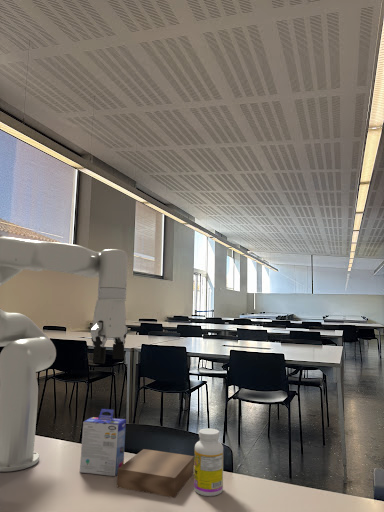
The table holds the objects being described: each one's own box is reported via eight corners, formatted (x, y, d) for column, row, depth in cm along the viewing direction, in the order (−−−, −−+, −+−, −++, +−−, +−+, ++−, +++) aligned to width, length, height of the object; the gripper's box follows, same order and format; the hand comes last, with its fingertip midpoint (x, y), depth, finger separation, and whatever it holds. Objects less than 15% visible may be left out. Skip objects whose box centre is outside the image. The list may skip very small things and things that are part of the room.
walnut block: (116, 487, 88) (117, 468, 89) (143, 465, 101) (143, 448, 102) (174, 497, 84) (174, 477, 85) (193, 473, 97) (194, 456, 98)
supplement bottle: (196, 482, 92) (197, 425, 94) (224, 485, 90) (225, 428, 92) (191, 495, 85) (192, 434, 87) (220, 499, 84) (221, 436, 86)
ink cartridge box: (124, 468, 99) (127, 409, 101) (116, 477, 94) (119, 414, 96) (89, 464, 101) (92, 406, 103) (78, 473, 96) (82, 411, 98)
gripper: (115, 296, 113) (112, 356, 110) (81, 293, 97) (77, 364, 94) (138, 297, 111) (136, 358, 108) (107, 293, 94) (104, 365, 92)
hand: (108, 360), depth 101 cm, fingers open, 9 cm apart
